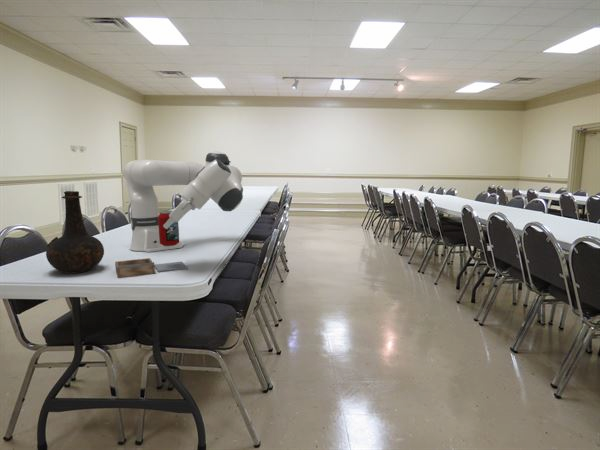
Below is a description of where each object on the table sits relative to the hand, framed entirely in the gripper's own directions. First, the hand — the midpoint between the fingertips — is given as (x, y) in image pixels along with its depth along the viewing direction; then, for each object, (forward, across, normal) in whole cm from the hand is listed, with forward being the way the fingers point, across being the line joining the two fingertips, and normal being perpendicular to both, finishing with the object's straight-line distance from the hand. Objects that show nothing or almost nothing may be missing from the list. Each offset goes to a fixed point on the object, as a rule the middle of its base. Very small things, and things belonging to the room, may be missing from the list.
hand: (166, 225), depth 144 cm
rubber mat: (+10, 0, -11) cm, 15 cm away
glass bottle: (+33, +3, +11) cm, 35 cm away
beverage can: (+5, 0, -6) cm, 7 cm away
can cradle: (+18, -4, -3) cm, 19 cm away
